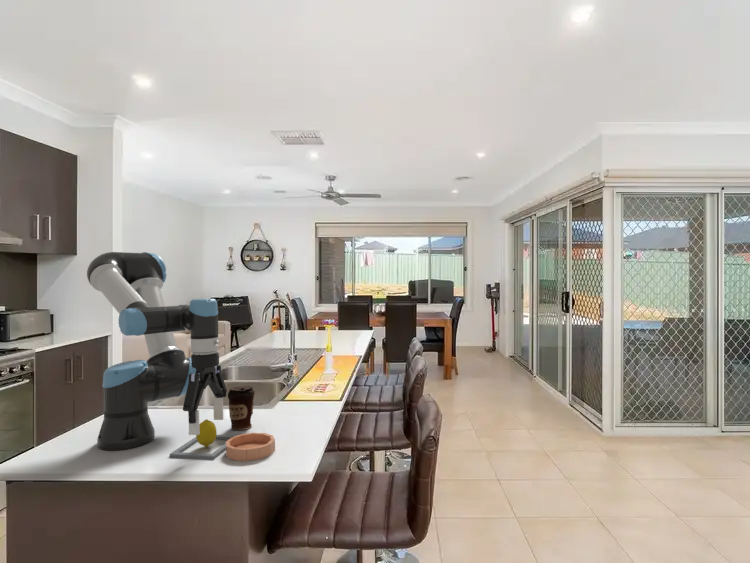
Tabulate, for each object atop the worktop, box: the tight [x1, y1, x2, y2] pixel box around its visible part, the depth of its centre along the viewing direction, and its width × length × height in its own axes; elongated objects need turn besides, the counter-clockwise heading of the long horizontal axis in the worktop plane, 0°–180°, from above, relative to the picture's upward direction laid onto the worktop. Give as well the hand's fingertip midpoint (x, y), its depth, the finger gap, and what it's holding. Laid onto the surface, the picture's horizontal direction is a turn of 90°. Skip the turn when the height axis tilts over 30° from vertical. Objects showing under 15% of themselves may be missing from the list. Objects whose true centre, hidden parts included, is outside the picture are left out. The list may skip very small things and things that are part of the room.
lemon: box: [195, 419, 218, 448], centre depth 134 cm, size 6×6×8 cm
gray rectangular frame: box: [169, 434, 236, 460], centre depth 134 cm, size 13×16×1 cm
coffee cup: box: [227, 385, 256, 431], centre depth 151 cm, size 9×8×13 cm
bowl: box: [225, 432, 276, 462], centre depth 130 cm, size 13×13×3 cm
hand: (207, 426), depth 134 cm, fingers open, 13 cm apart
